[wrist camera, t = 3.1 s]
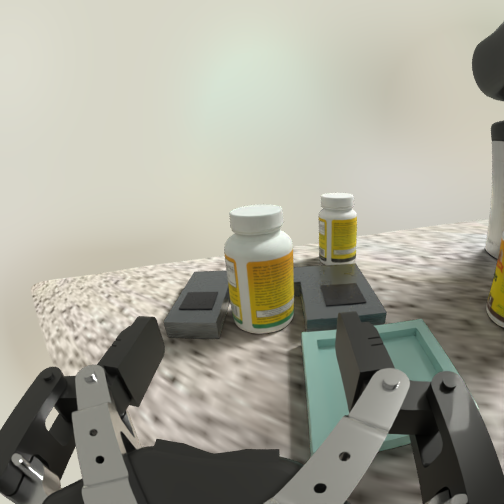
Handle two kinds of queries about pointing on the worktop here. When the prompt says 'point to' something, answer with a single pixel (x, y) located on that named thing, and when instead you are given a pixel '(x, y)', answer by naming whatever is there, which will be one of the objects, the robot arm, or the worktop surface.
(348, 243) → the supplement bottle
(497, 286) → the supplement bottle
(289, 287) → the supplement bottle
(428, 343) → the tray
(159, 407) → the worktop surface
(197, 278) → the grey notched plate
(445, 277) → the worktop surface
